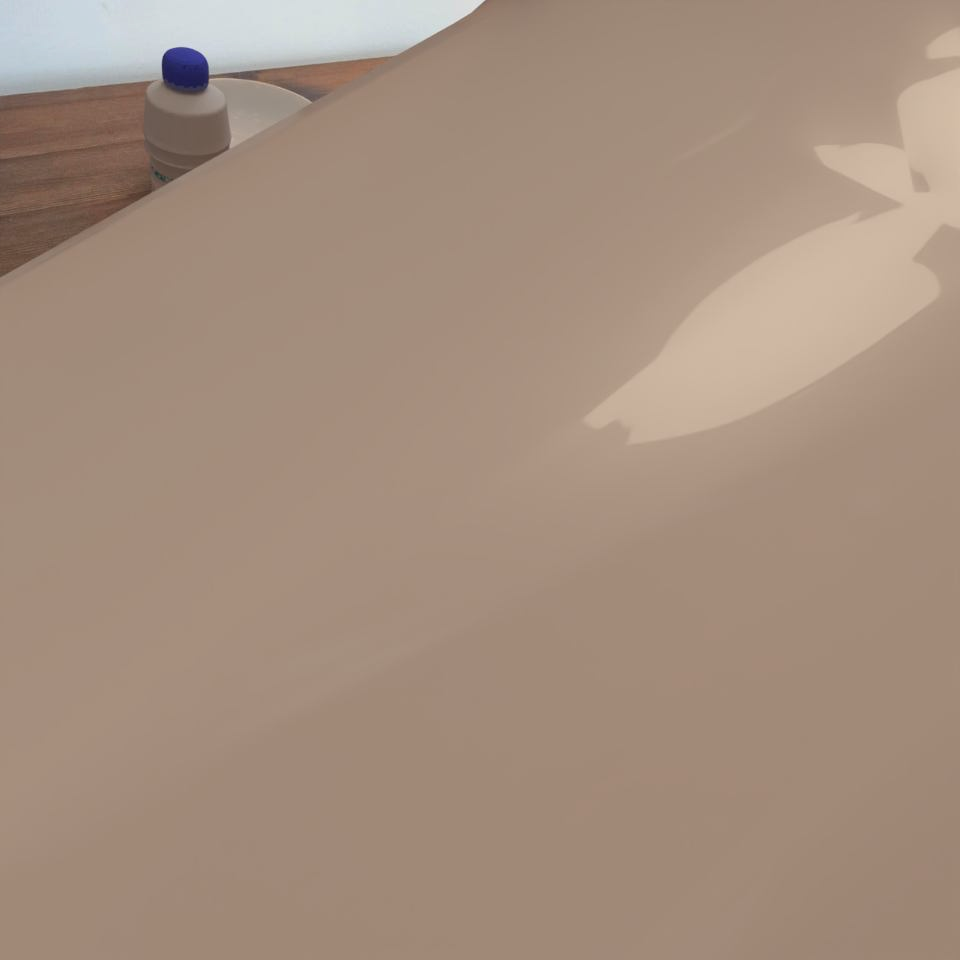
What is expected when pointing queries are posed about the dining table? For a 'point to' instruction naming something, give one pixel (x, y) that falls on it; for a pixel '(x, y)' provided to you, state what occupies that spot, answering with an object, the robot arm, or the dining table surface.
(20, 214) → the dining table surface
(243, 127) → the cereal bowl
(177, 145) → the bottle
